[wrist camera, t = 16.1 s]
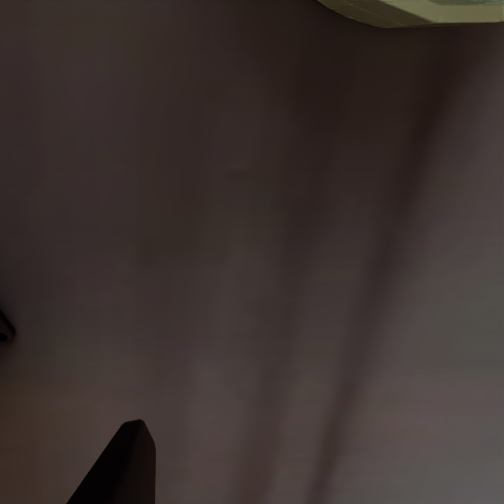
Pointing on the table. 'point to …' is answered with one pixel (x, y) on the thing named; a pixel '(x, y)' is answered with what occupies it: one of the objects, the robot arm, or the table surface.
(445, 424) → the table surface
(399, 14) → the tub
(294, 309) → the table surface
